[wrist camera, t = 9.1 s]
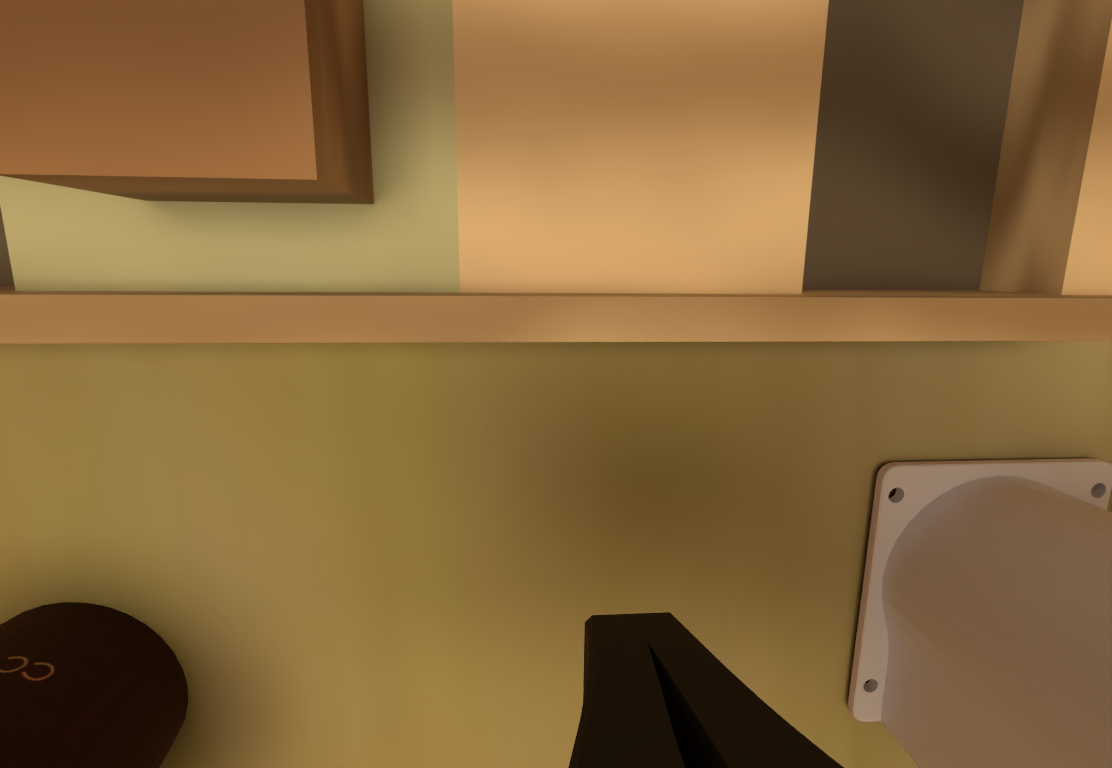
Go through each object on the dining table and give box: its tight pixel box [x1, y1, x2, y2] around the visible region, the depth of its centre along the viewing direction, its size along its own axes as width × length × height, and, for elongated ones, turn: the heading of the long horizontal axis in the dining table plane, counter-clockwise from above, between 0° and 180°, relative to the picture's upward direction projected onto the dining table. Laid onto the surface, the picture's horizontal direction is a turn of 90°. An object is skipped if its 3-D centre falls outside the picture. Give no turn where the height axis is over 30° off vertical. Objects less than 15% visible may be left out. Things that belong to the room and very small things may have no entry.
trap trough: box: [0, 0, 1112, 344], centre depth 14 cm, size 11×36×4 cm, turn 90°
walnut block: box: [0, 0, 374, 204], centre depth 11 cm, size 5×5×4 cm
